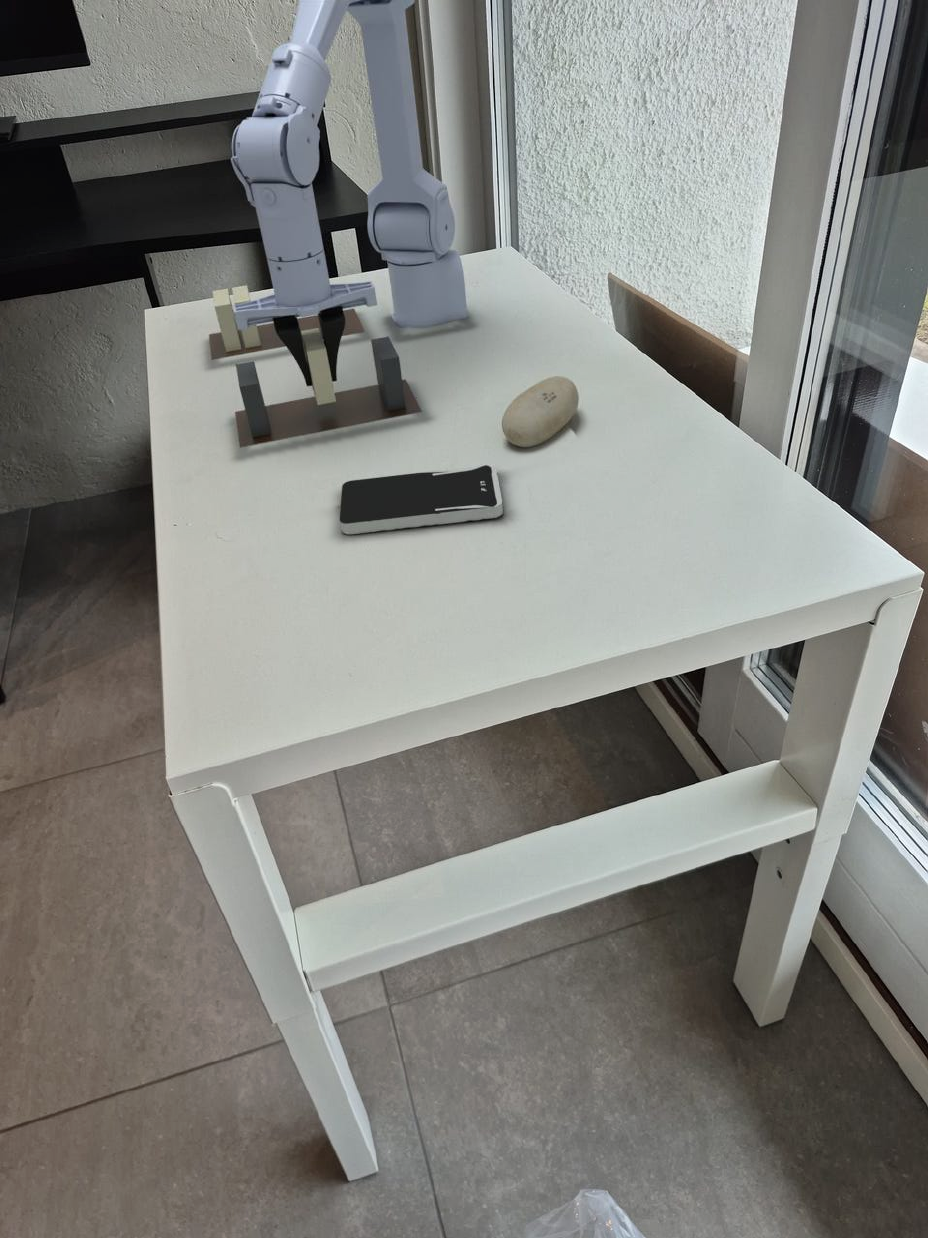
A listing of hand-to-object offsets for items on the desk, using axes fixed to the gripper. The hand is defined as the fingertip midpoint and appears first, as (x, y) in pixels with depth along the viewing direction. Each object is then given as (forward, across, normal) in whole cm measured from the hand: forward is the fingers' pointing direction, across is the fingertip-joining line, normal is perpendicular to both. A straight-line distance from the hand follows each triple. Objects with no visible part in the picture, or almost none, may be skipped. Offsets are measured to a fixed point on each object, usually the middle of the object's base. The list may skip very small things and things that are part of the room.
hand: (320, 380), depth 98 cm
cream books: (+4, -8, +26) cm, 27 cm away
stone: (+5, +21, -13) cm, 25 cm away
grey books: (+4, 0, 0) cm, 4 cm away
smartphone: (+5, +6, -22) cm, 23 cm away
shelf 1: (+5, -2, +25) cm, 26 cm away
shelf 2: (+5, 0, 0) cm, 5 cm away
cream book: (+1, 0, 0) cm, 1 cm away
